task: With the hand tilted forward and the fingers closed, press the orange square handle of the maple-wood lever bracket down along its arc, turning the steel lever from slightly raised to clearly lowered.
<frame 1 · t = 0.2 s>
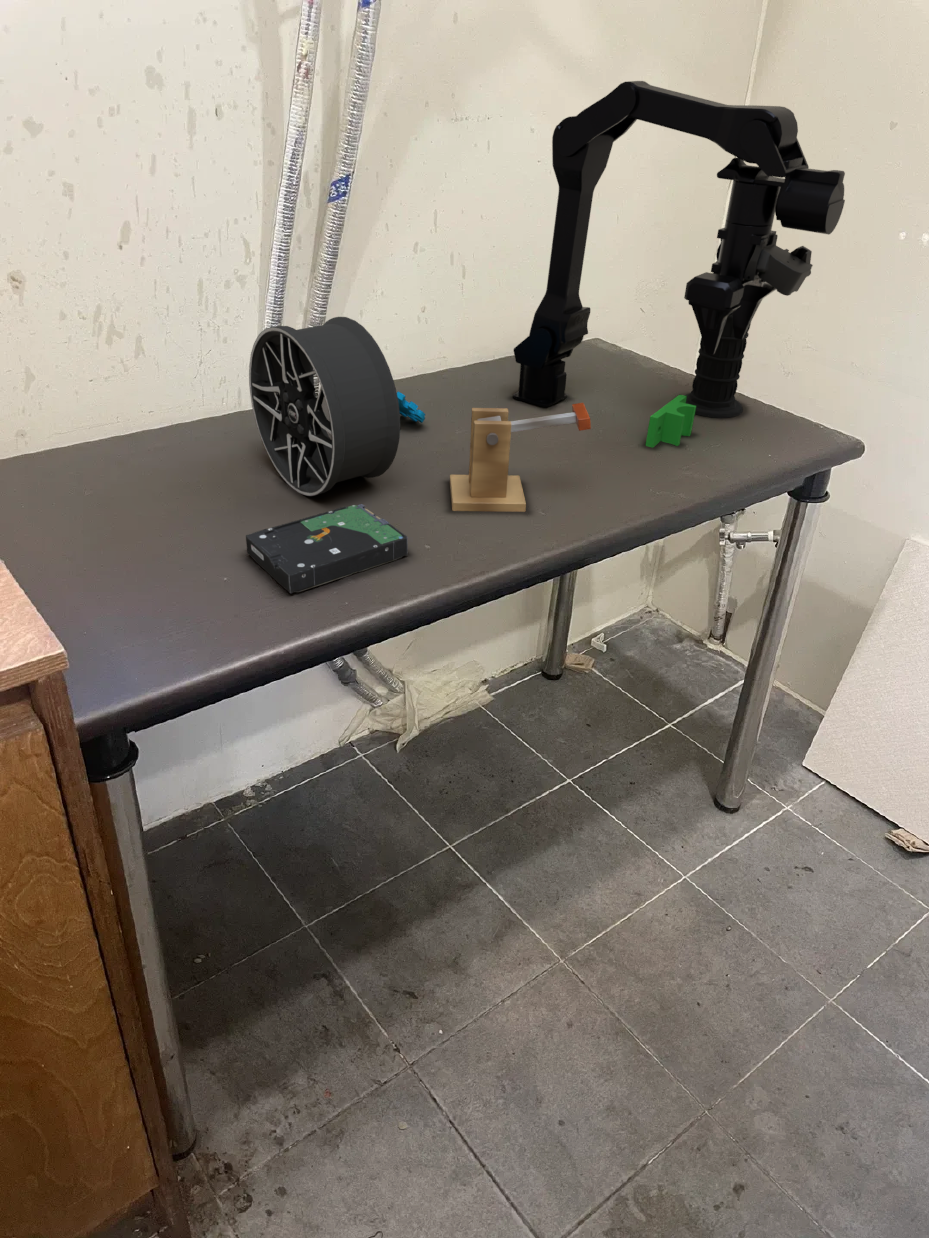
hand: (724, 346, 123), 15 cm above the table, tool pointing down, fingers open, 9 cm apart
bracket: (486, 497, 115), on the table
wheel rim: (326, 482, 117), on the table
lever: (533, 423, 110), point 10 cm above the table, hinge at 10.0°
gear: (392, 426, 133), on the table
disk drive: (328, 558, 101), on the table
handle grip: (710, 407, 145), on the table
pipe clamp: (671, 438, 134), on the table
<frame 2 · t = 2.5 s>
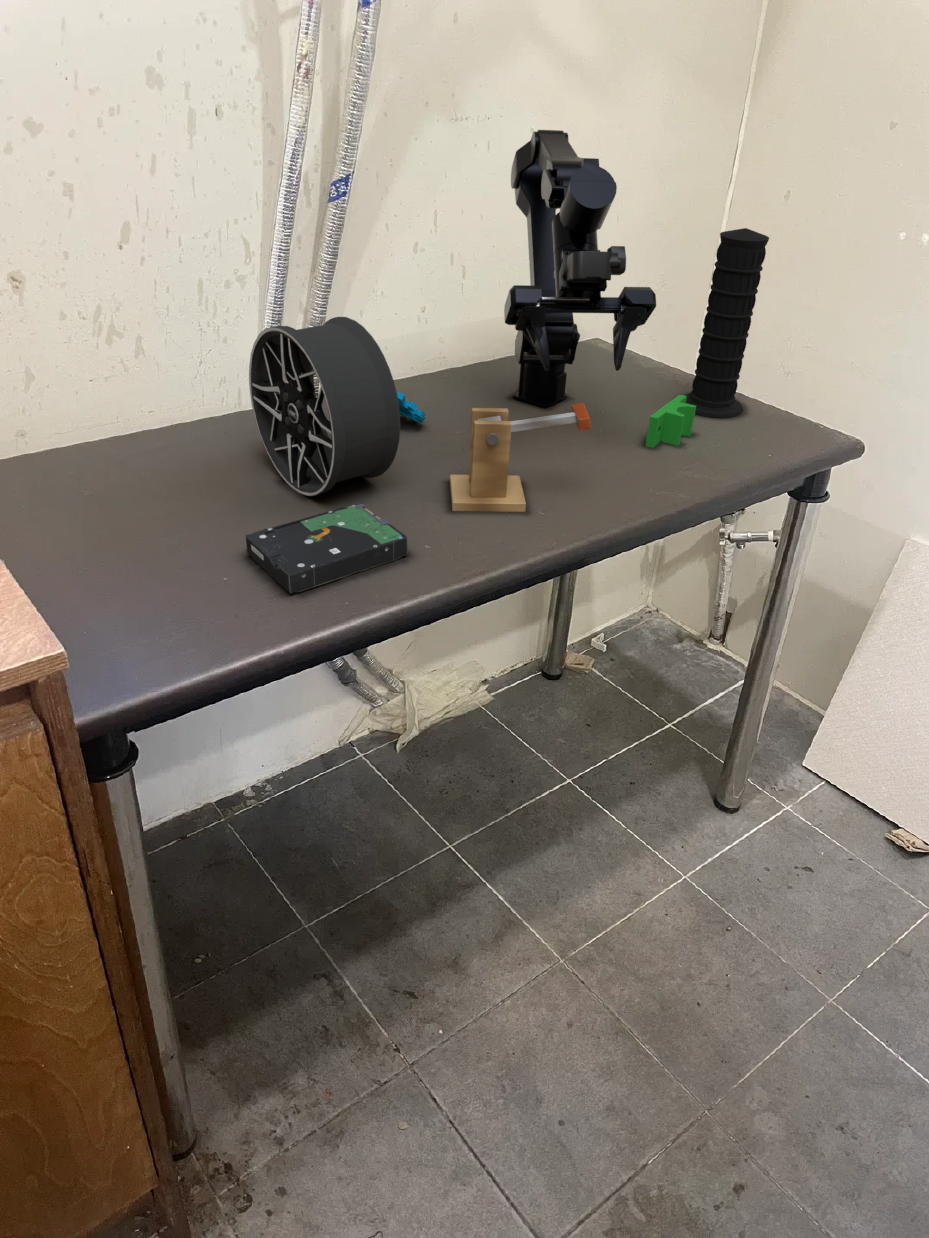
hand: (583, 369, 116), 13 cm above the table, tool tilted 40°, fingers open, 9 cm apart
nothing on the table moved.
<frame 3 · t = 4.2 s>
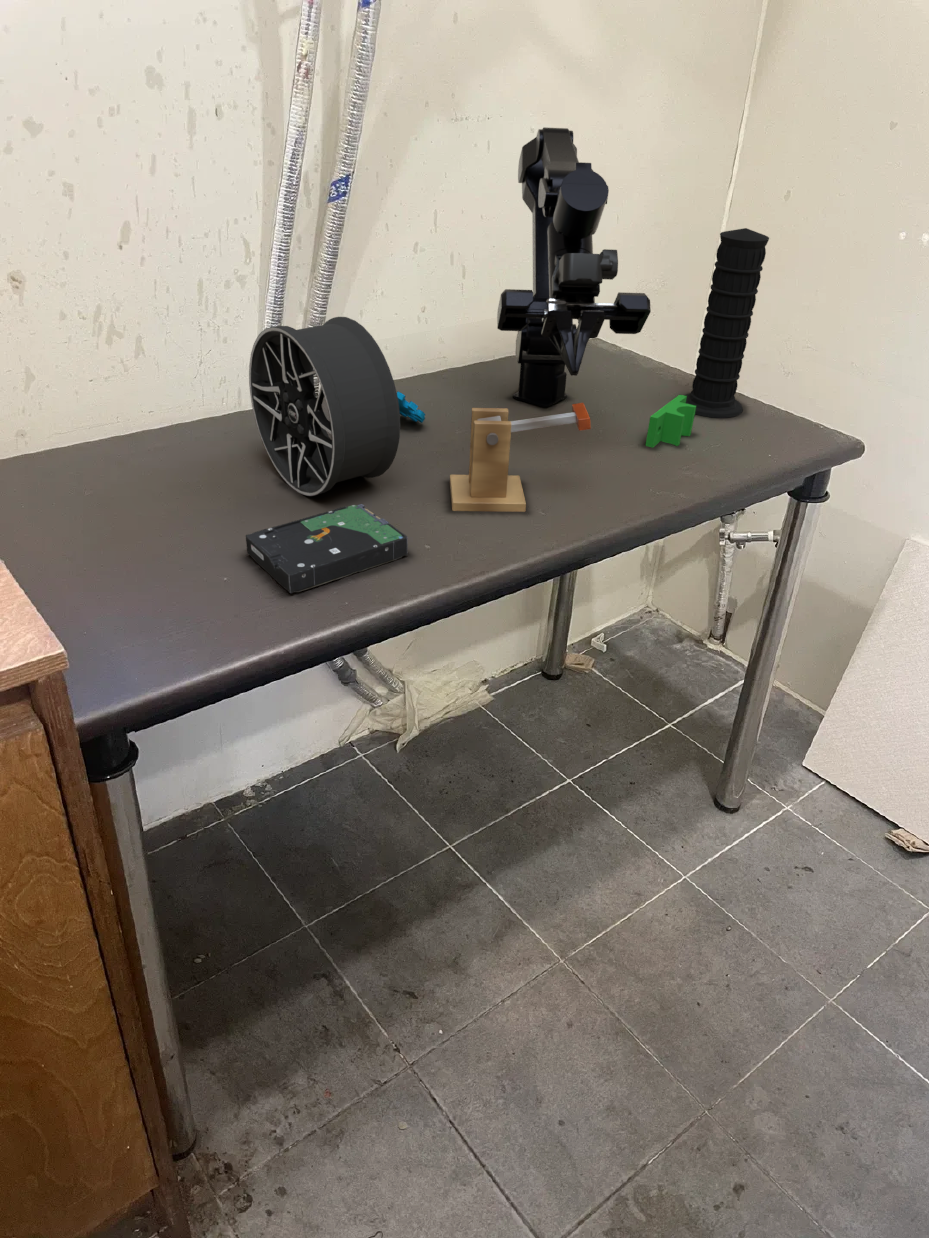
hand: (574, 374, 114), 14 cm above the table, tool tilted 45°, fingers closed
nothing on the table moved.
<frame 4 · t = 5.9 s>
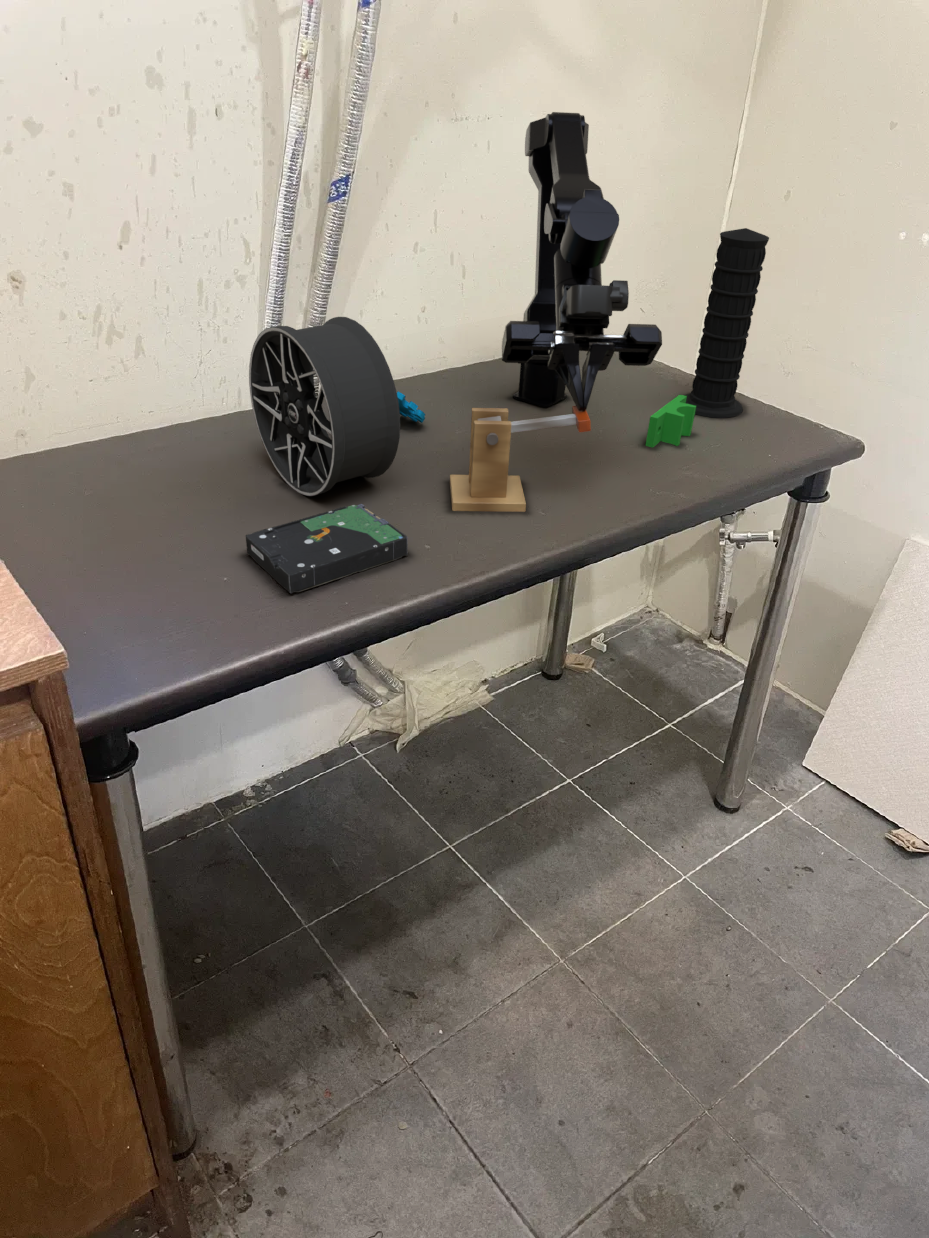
hand: (582, 409, 109), 12 cm above the table, tool tilted 45°, fingers closed
lever: (533, 424, 110), point 10 cm above the table, hinge at 8.8°, touching gripper
everything else where it was.
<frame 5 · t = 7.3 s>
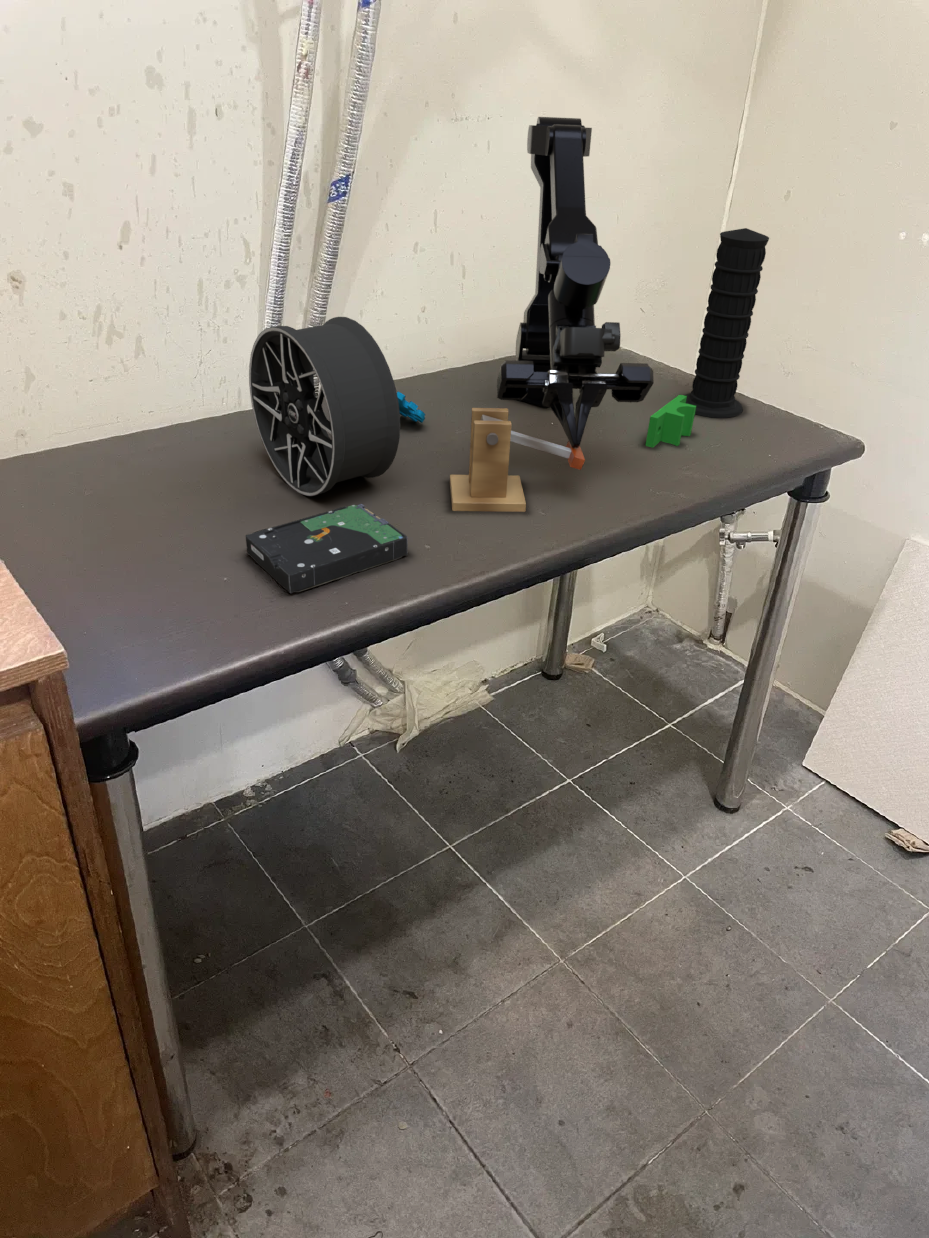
hand: (576, 446, 112), 7 cm above the table, tool tilted 45°, fingers closed
lever: (530, 441, 111), point 8 cm above the table, hinge at -16.3°, touching gripper
everything else where it was.
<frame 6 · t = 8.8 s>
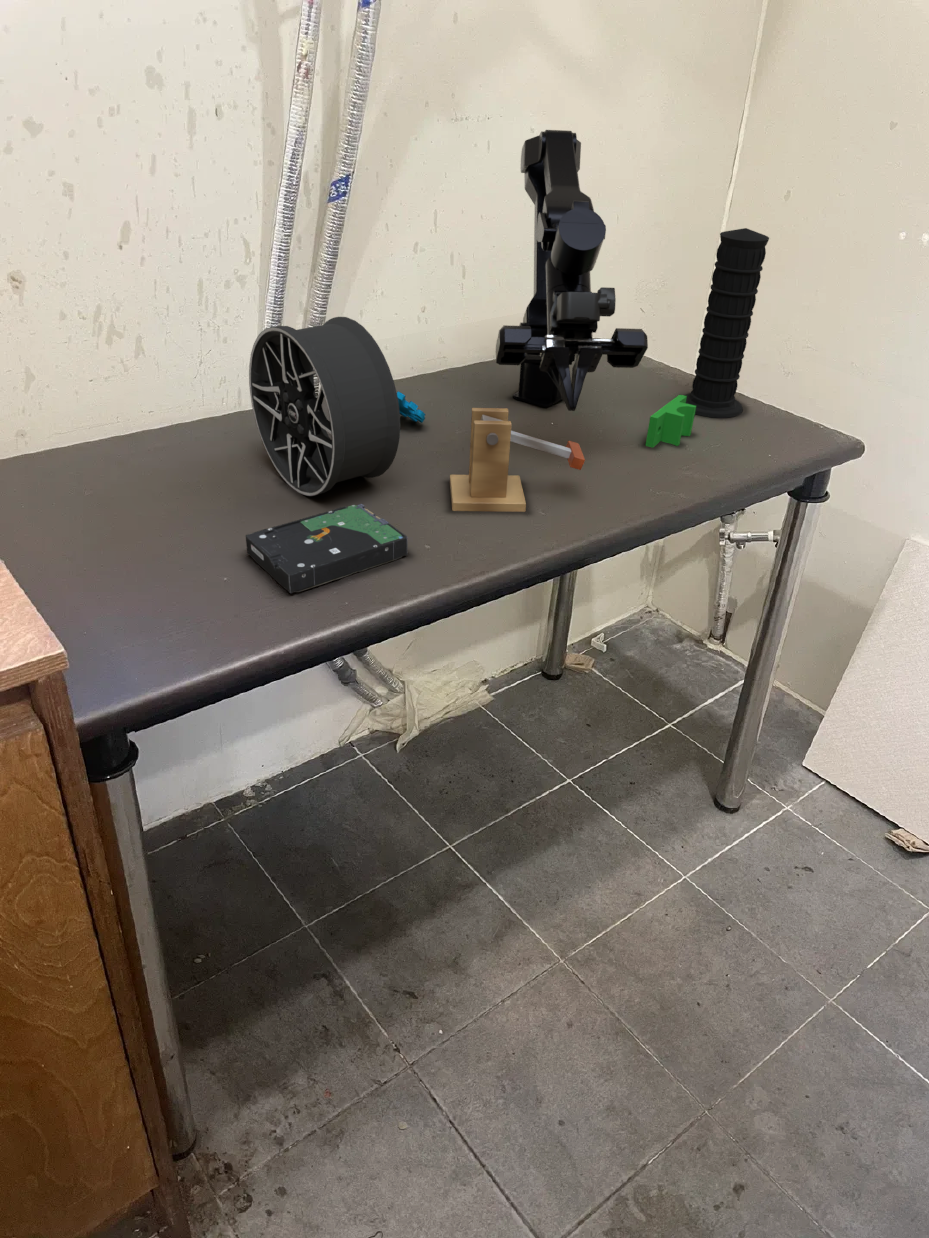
hand: (572, 409, 115), 10 cm above the table, tool tilted 45°, fingers closed
lever: (530, 441, 111), point 8 cm above the table, hinge at -16.3°
everything else where it was.
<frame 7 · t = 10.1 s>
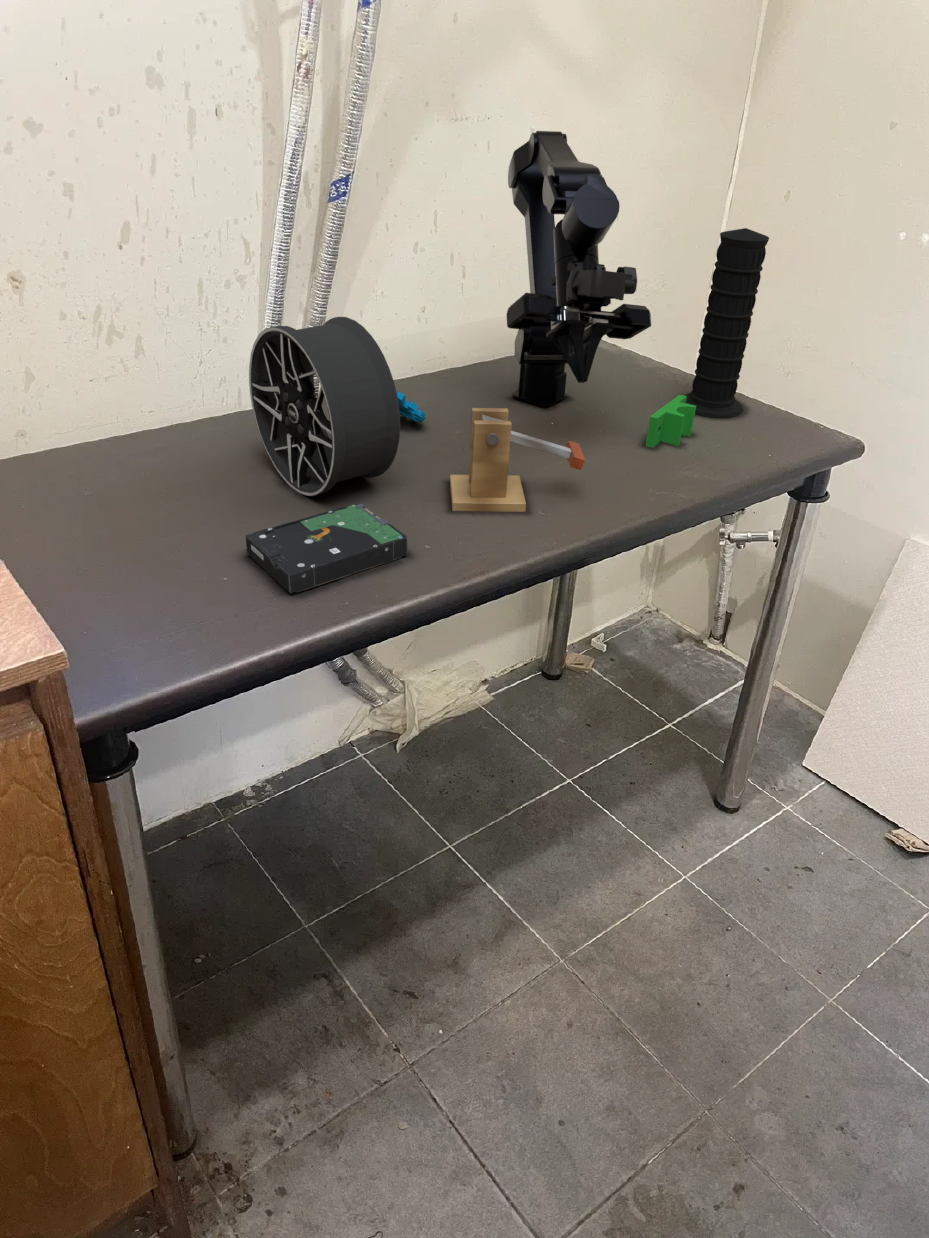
hand: (582, 382, 119), 11 cm above the table, tool tilted 35°, fingers closed
nothing on the table moved.
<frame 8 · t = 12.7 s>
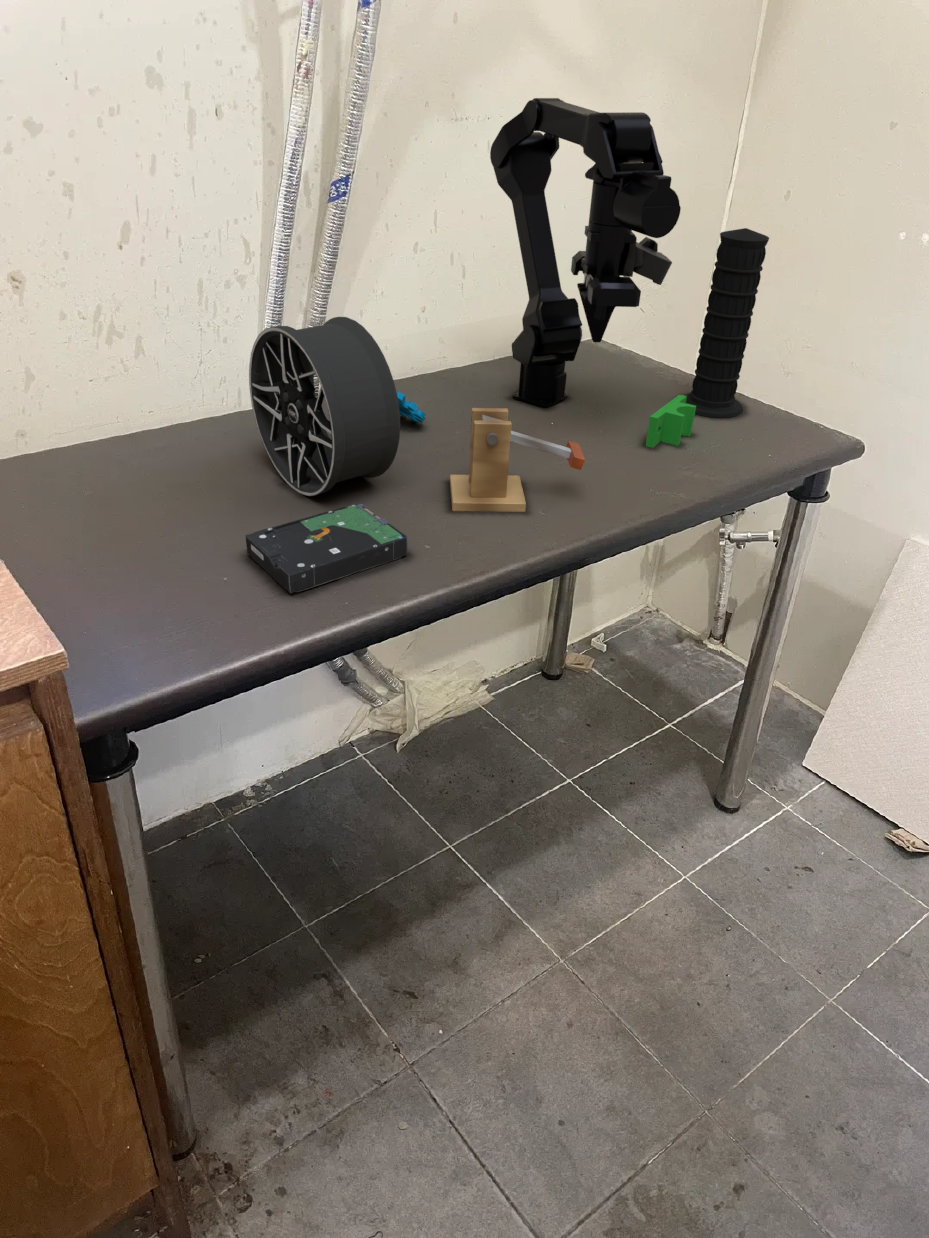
hand: (596, 341, 128), 13 cm above the table, tool pointing down, fingers closed
nothing on the table moved.
at the end: lever at -16° (first picture: +10°) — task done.
